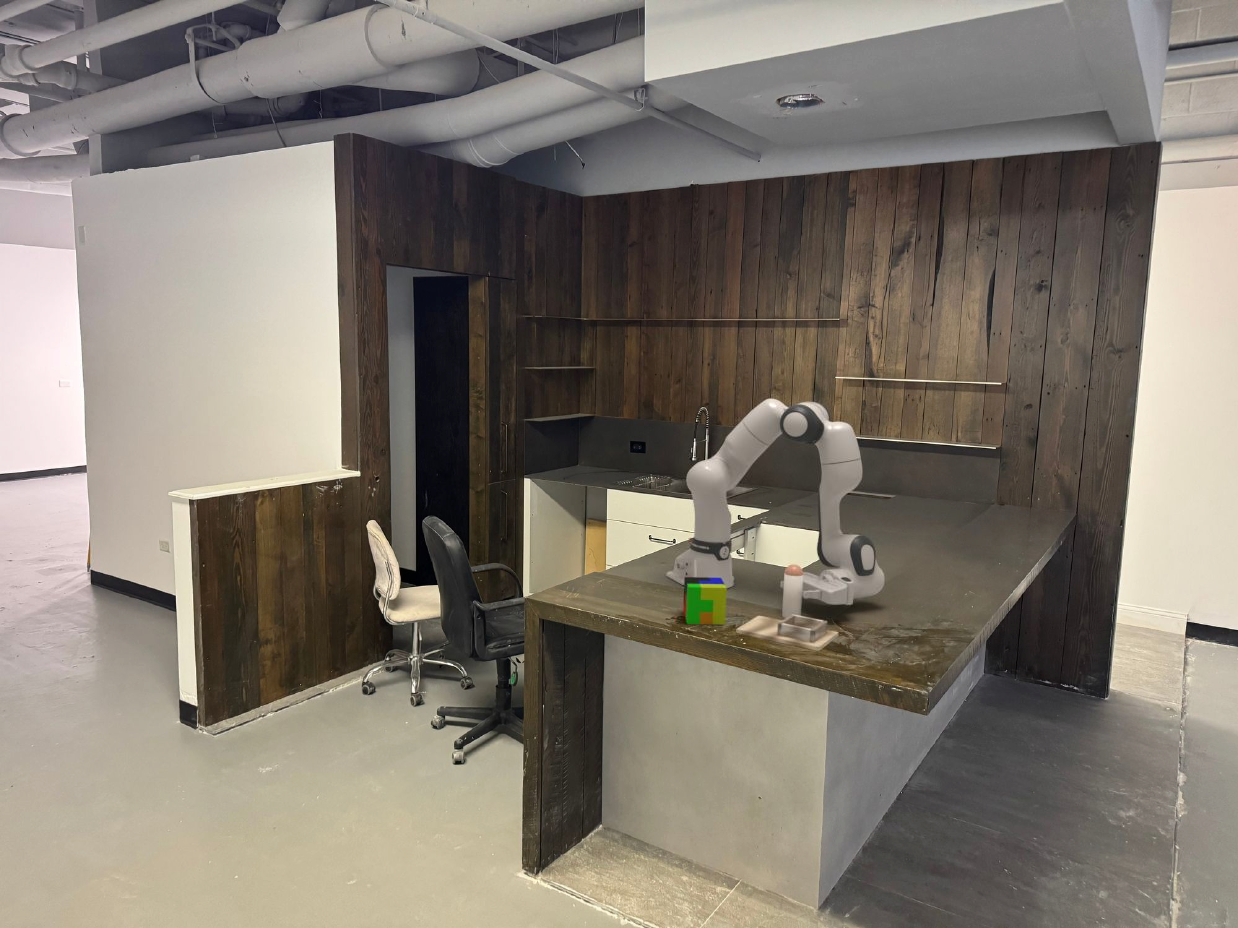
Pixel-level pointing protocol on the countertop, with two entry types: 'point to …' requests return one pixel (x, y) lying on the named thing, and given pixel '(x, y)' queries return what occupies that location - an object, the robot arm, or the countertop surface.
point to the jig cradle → (790, 631)
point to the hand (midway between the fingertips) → (792, 589)
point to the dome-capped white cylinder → (792, 591)
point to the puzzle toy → (704, 600)
